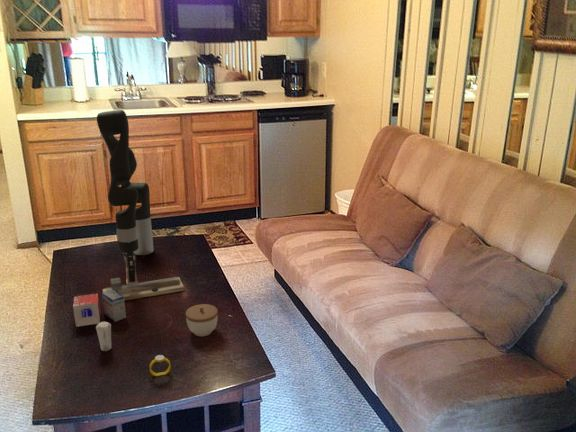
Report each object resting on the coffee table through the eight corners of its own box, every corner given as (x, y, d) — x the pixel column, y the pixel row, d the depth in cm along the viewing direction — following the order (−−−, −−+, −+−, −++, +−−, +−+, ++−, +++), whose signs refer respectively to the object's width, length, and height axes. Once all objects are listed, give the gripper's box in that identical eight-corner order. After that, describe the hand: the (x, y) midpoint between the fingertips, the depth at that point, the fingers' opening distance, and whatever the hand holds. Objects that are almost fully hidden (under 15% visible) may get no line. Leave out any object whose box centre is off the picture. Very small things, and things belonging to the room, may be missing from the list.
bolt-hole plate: (103, 292, 204) (101, 277, 202) (179, 280, 215) (178, 265, 213) (104, 303, 195) (102, 288, 193) (184, 290, 206) (183, 275, 204)
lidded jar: (183, 327, 180) (182, 303, 177) (213, 321, 184) (212, 297, 181) (190, 343, 170) (189, 317, 167) (222, 336, 174) (221, 311, 171)
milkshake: (107, 354, 164) (103, 326, 161) (95, 349, 166) (92, 322, 163) (118, 348, 167) (115, 320, 164) (107, 343, 170) (103, 316, 167)
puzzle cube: (100, 312, 189) (97, 293, 187) (100, 323, 182) (97, 303, 180) (76, 316, 187) (74, 296, 184) (75, 327, 180) (72, 306, 177)
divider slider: (127, 287, 204) (124, 267, 202) (137, 285, 206) (135, 265, 203) (128, 292, 200) (125, 271, 198) (138, 290, 202) (136, 270, 199)
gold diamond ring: (170, 370, 156) (170, 353, 155) (171, 376, 154) (171, 358, 152) (149, 373, 154) (149, 355, 153) (150, 378, 152) (150, 361, 150)
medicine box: (103, 314, 188) (101, 293, 185) (115, 310, 191) (112, 289, 188) (115, 322, 183) (112, 300, 180) (126, 317, 186) (124, 295, 183)
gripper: (115, 232, 201) (120, 273, 207) (118, 245, 189) (123, 288, 194) (135, 230, 204) (139, 270, 209) (140, 242, 191) (144, 284, 197)
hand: (131, 278), depth 202 cm, fingers open, 4 cm apart
